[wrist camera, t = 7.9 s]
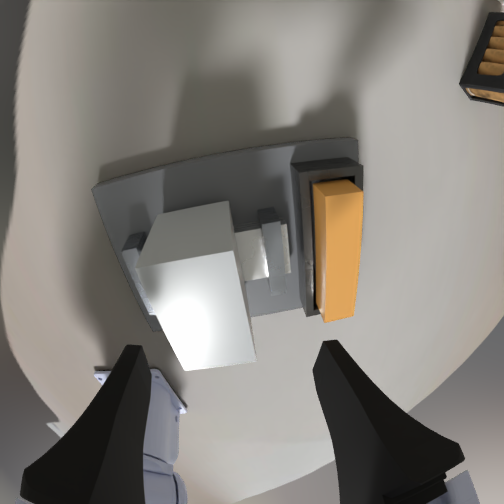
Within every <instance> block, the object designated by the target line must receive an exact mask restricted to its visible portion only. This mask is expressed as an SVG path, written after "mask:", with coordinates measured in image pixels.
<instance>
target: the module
mask: <svg viewBox="0 0 504 504" xmlns="http://www.w3.org/2000/svg"><path fill="white" fill-rule="evenodd" d="M135 270H136V272H137V275H138V277H139V279H140V282H141V284H142V286H143V288H144V291H145V293H146V295H147V297H148V299H149V302H150V304H151V306H152V308H153V310H154V312H155V314H156V316H157V318H158V321H159V323H160V325H161V327H162V329H163V331H164V333H165V335H166V337H167V338H168V340H169V342H170V344H171V346H172V348H173V350H174V352H175V354H176V356H177V357H178V359H179V361H180V363H181V365H182V366H183V368H184V370H185V371H187V370H197V369H206V368H214V367H222V366H229V365H236V364H243V363H249V362H255V361H257V358H256V351H255V345H254V338H253V332H252V325H251V318H250V311H249V305H248V298H247V293H246V286H245V281H244V278H243V273H242V268H241V263H240V258H239V253H238V248H237V242H236V237H235V232H234V227H233V221H232V214H231V209H230V203H229V201H223V202H218V203H212V204H207V205H202V206H197V207H192V208H187V209H182V210H177V211H172V212H168V213H163V214H158V215H157V217H156V219H155V221H154V224H153V226H152V228H151V231H150V233H149V235H148V237H147V240H146V242H145V244H144V247H143V249H142V252H141V254H140V256H139V259H138V261H137V264H136V266H135Z"/></svg>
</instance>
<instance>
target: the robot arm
mask: <svg viewBox="0 0 504 504" xmlns="http://www.w3.org/2000/svg"><path fill="white" fill-rule="evenodd" d="M313 375H314V381H315V386H316V391H317V394H318V398H319V401H320V404H321V407H322V410H323V413H324V416H325V419H326V422H327V425H328V429H329V432H330V435H331V439H332V443H333V448H334V454H335V460H336V465H337V472H338V481H339V492H340V504H480V502H479V499H478V497H477V494H476V491H475V488H474V485H473V483H472V480H471V477H470V475H469V472H468V470H466V471H464V472H462V473H460V474H459V475H457V476H455V477H454V478H452V479H450V480H448V481H447V482H444V479H446V477H447V476H446V474H445V472H446V471H448V470H450V469H451V468H453V467H455V466H456V465H458V464H459V463H461V462H463V461H464V460H465V457H464V455H463V452H462V450H461V448H460V446H459V444H458V443H456V442H454V441H452V440H450V439H447V438H445V437H443V436H441V435H439V434H438V433H436V432H434V431H432V430H430V429H429V428H427V427H425V426H424V425H423V424H421V423H420V422H418V421H417V420H415V419H414V418H412V417H411V416H410V415H408V414H407V413H406V412H404V411H403V410H402V409H401V408H400V407H398V406H397V405H396V404H395V403H394V402H393V401H392V400H390V399H389V398H388V397H387V396H386V395H385V394H384V393H383V392H382V391H381V390H380V389H379V388H378V387H377V386H376V385H375V384H374V383H373V382H372V380H371V379H370V378H369V377H368V376H367V375H366V374H365V373H364V371H363V370H362V369H361V368H360V367H359V366H358V365H357V363H356V362H355V361H354V360H353V359H352V357H351V356H350V355H349V354H348V352H347V351H346V350H345V349H344V348H343V346H342V345H341V344H340V343H339V341H338V340H329V341H323V343H322V346H321V349H320V351H319V354H318V357H317V359H316V362H315V365H314V367H313ZM94 376H95V377H96V379H97V380H98V381H99V382H100V383H101V384H102V387H101V388H100V390H99V392H98V393H97V394H96V396H95V397H94V399H93V400H92V402H91V403H90V405H89V406H88V407H87V409H86V410H85V411H84V413H83V414H82V415H81V416H80V418H79V419H78V420H77V421H76V423H75V424H74V425H73V426H72V427H71V428H70V429H69V430H68V432H67V433H66V434H65V435H64V436H63V437H62V438H61V439H60V440H59V441H58V442H57V443H56V444H55V445H54V446H53V447H52V448H51V449H49V450H48V451H47V453H45V454H44V455H43V456H42V457H40V458H39V459H38V460H36V461H35V462H34V463H32V464H31V465H30V466H28V467H27V468H26V469H24V473H23V477H22V483H21V491H20V496H21V497H22V498H24V499H26V500H28V501H30V502H32V503H34V504H187V490H186V486H185V483H184V481H183V480H182V478H181V477H180V475H179V474H178V473H176V472H173V464H174V463H175V461H176V459H177V457H178V453H179V414H181V413H186V412H187V409H186V408H185V406H184V405H183V403H182V402H181V401H180V399H179V398H178V397H177V395H176V394H175V392H174V391H173V390H172V388H171V387H170V385H169V384H168V382H167V381H166V380H165V378H164V377H163V375H162V374H161V372H160V371H159V370H157V369H150V368H149V365H148V363H147V360H146V357H145V354H144V351H143V348H142V346H141V345H127V346H125V348H124V350H123V352H122V354H121V355H120V357H119V359H118V361H117V362H116V364H115V366H114V367H113V369H112V371H95V372H94ZM15 504H30V503H28V502H26V501H23V500H21V499H18V498H16V502H15Z"/></svg>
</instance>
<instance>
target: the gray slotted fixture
mask: <svg viewBox="0 0 504 504" xmlns="http://www.w3.org/2000/svg"><path fill="white" fill-rule="evenodd" d="M290 172H291V182H292V193H293V204H294V216H295V229H296V243H297V258H298V275H299V294H300V300H301V303H302V306H303V309H304V312H305V314H306V317H309V316H313V315H318V314H321V313H320V311H319V308H318V306H317V303H316V290H313V248H312V223H311V203H310V187H309V181H313V180H320V179H328V178H337V177H341V180H343V179H348V180H349V181H350V182H352V183H353V184H354V185H356V186H357V187H358V188H359V189H361V190H362V191H363V165H361V164H359V163H358V162H356V161H354V160H353V159H351V158H349V157H342V158H332V159H322V160H313V161H305V162H297V163H290ZM257 213H258V220H259V221H256V222H250V223H244V224H239V225H233V227H234V232H235V237H236V242H237V248H238V253H239V258H240V263H241V268H242V273H243V278H244V281H250V280H255V279H261V278H266V277H267V280H268V284H269V288H270V292H271V296H275V295H280V294H286V293H287V285H286V274H288V273H291V268H290V256H289V244H288V233H287V224H286V222H285V220H284V218H283V217H278V215H277V213H276V211H275V209H274V207H270V208H264V209H258V210H257ZM146 240H147V239H146V236H145V233H144V232H140V233H135V234H131V235H129V237H128V239H127V241H126V243H125V244H124V246H123V248H122V250H121V253H122V255H123V258H124V260H125V263H126V265H127V267H128V270H129V272H130V274H131V276H132V279H133V281H134V283H135V285H136V287H137V290H138V292H139V294H140V296H141V298H142V300H143V302H144V304H145V306H146V309H147V311H148V313H149V315H156V314H155V312H154V310H153V308H152V306H151V304H150V302H149V299H148V297H147V295H146V293H145V291H144V288H143V286H142V284H141V282H140V279H139V277H138V275H137V272H136V270H135V266H136V264H137V261H138V259H139V256H140V254H141V252H142V249H143V247H144V244H145V242H146Z"/></svg>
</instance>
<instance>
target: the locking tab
mask: <svg viewBox="0 0 504 504" xmlns="http://www.w3.org/2000/svg"><path fill="white" fill-rule="evenodd" d="M313 197H314V217H315V246H316V303H317V306H318V308H319V311H320V313H321V315H322V318H323V320H324V323H327V322H331V321H335V320H339V319H343V318H347V317H351V316H354V309H355V301H356V293H357V284H358V274H359V264H360V252H361V237H362V219H363V191H362V190H361V189H359V188H358V187H357V186H356V185H354V184H353V183H352V182H350V181H349V180H348V179H343V180H335V181H327V182H319V183H313Z"/></svg>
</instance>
